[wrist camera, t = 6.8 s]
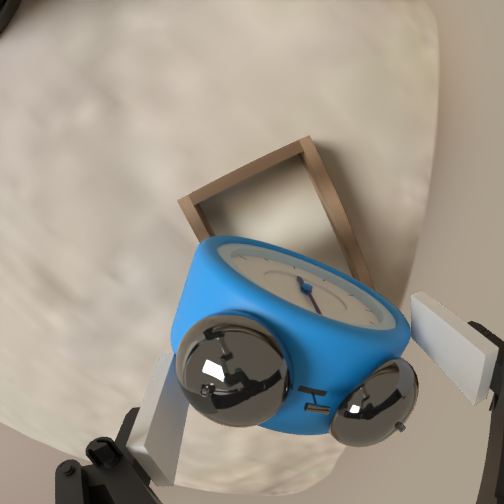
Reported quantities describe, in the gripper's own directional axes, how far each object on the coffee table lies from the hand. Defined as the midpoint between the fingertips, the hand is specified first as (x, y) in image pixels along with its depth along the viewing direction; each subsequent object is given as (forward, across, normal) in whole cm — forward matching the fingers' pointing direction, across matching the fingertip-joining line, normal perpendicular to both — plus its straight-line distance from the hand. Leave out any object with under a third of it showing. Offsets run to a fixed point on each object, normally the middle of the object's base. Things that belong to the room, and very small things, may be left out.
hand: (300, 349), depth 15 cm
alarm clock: (+10, 0, 0) cm, 10 cm away
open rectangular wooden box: (+16, +2, 0) cm, 16 cm away
